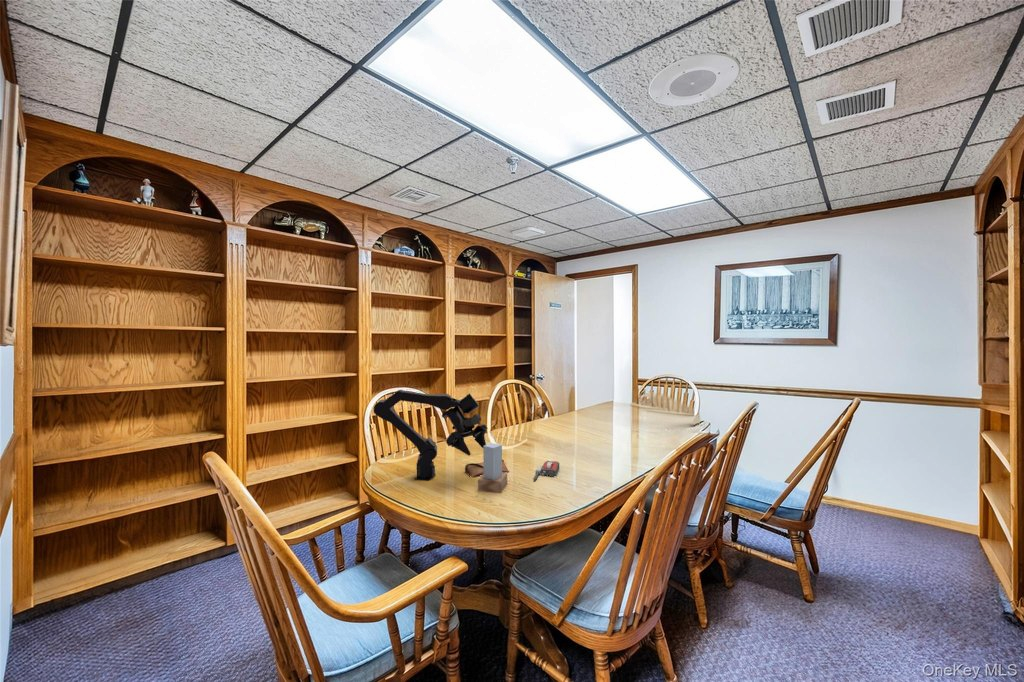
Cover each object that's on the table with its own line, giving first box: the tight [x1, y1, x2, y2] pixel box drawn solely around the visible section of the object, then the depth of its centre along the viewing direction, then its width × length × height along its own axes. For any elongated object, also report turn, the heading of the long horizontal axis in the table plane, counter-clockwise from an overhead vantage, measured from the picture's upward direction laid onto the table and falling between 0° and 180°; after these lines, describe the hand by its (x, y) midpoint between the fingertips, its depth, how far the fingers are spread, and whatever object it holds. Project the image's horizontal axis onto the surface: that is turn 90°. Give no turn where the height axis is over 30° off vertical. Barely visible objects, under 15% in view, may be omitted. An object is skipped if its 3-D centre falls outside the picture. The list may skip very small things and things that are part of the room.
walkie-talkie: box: [532, 460, 560, 481], centre depth 165 cm, size 9×4×20 cm
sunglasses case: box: [464, 459, 510, 478], centre depth 169 cm, size 18×7×7 cm
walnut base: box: [477, 472, 508, 493], centre depth 151 cm, size 9×9×4 cm
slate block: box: [482, 442, 503, 480], centre depth 151 cm, size 5×5×12 cm
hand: (478, 452), depth 156 cm, fingers open, 9 cm apart
